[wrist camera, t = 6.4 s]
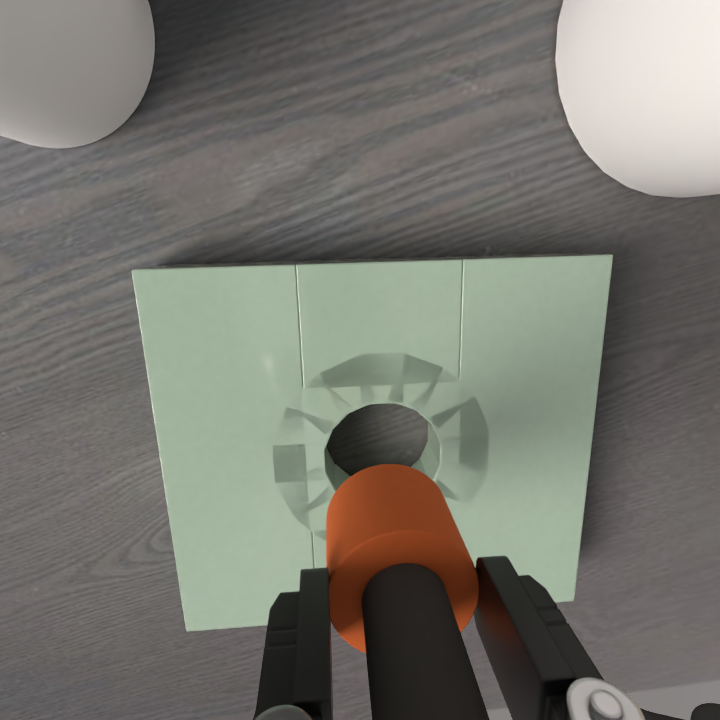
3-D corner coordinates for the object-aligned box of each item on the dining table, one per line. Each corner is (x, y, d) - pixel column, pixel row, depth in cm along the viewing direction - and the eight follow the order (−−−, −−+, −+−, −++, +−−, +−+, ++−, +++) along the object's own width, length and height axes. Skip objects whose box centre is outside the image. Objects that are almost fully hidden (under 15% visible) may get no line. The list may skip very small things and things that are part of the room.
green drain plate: (200, 591, 23) (185, 632, 21) (155, 265, 19) (130, 269, 17) (550, 565, 24) (574, 601, 22) (579, 252, 20) (613, 254, 18)
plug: (328, 572, 16) (329, 897, 8) (324, 465, 15) (320, 723, 7) (444, 565, 16) (554, 874, 8) (448, 460, 15) (578, 702, 7)
